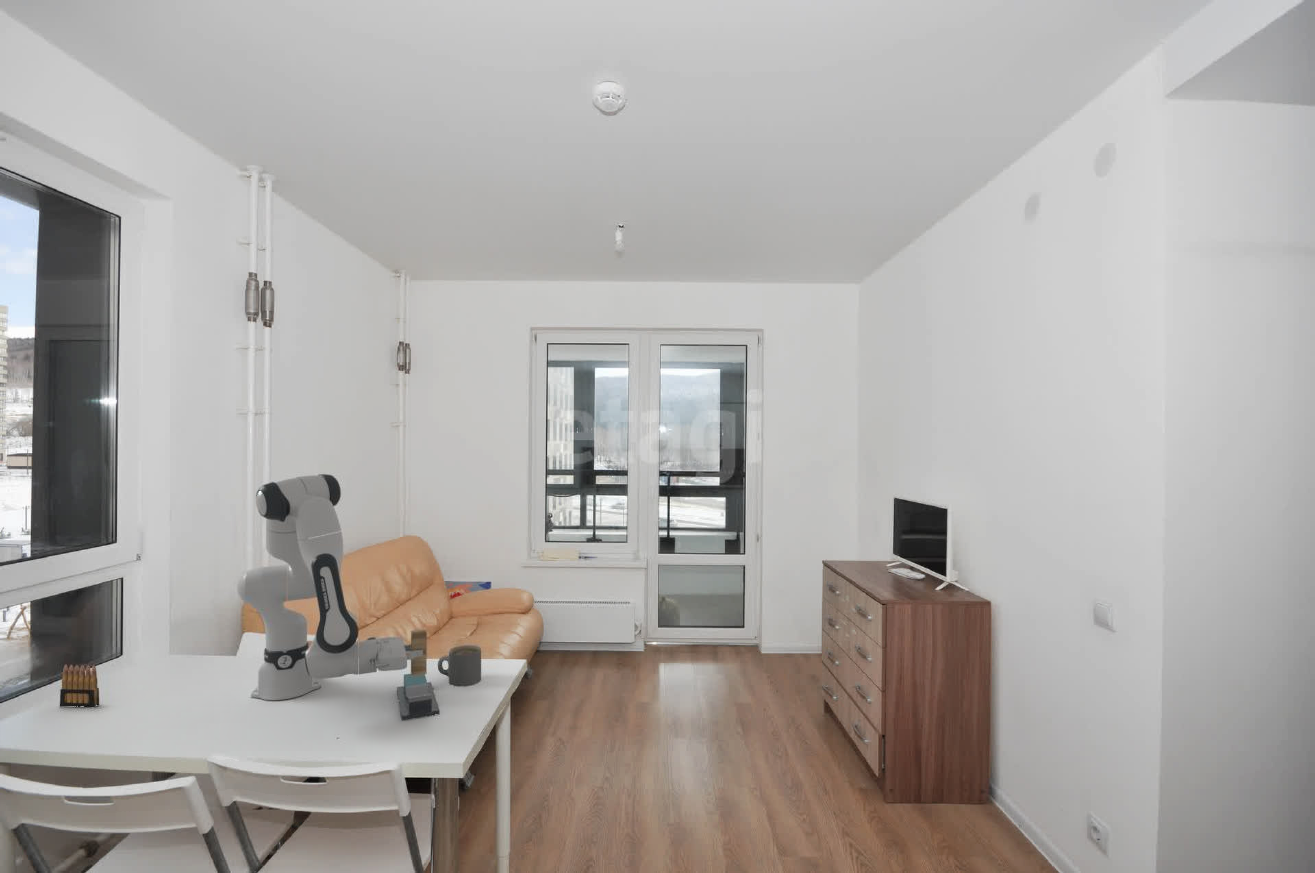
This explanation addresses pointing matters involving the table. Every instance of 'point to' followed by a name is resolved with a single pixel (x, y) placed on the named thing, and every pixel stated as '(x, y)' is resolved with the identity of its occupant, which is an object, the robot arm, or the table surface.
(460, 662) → the coffee mug
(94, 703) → the ammunition clip
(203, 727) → the table surface
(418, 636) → the oak block
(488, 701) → the table surface
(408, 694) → the block
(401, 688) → the vise
